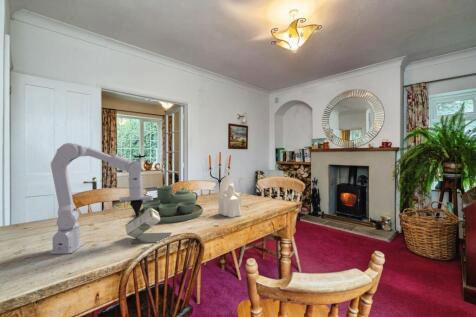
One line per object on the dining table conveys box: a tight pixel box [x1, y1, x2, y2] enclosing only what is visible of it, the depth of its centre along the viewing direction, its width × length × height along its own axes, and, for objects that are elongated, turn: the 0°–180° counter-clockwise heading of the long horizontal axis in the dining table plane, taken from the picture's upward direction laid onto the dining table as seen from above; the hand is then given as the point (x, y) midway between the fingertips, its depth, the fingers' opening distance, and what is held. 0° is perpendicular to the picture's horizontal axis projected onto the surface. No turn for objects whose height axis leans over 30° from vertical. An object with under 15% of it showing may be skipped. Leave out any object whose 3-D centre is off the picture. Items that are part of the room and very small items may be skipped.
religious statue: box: [217, 167, 251, 218], centre depth 150 cm, size 17×14×30 cm
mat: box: [130, 232, 172, 245], centre depth 109 cm, size 12×15×1 cm
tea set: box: [139, 185, 204, 224], centre depth 151 cm, size 40×40×16 cm
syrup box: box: [125, 207, 160, 239], centre depth 108 cm, size 6×6×14 cm
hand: (137, 216), depth 108 cm, fingers closed, pressing on syrup box
